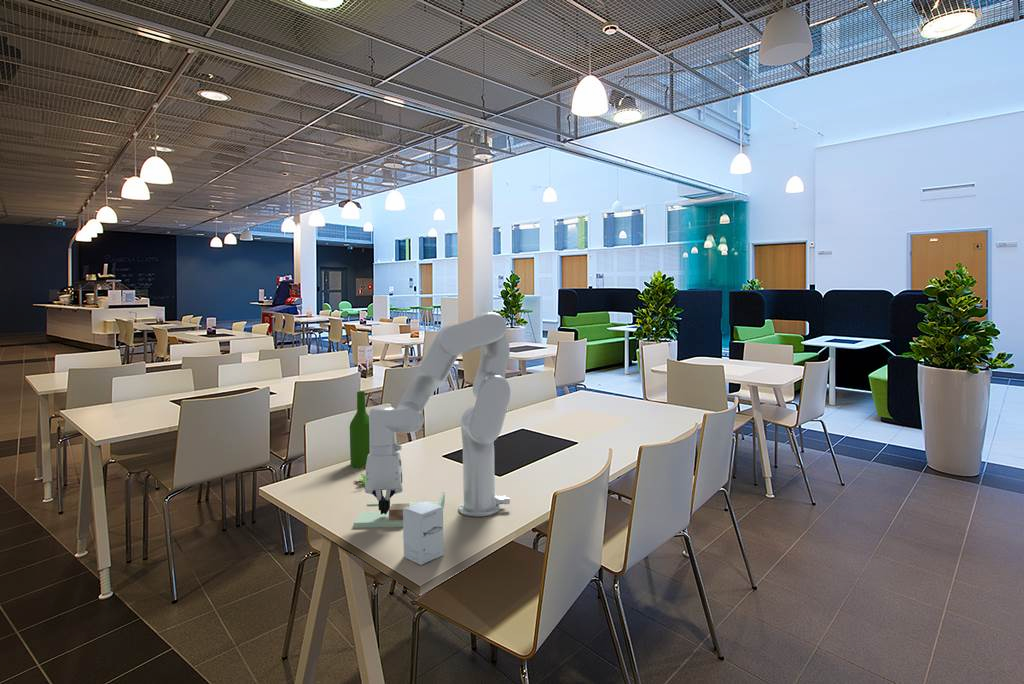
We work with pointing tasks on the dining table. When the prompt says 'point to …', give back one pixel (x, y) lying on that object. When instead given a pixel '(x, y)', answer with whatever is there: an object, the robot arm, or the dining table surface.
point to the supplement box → (423, 532)
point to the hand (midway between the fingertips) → (384, 512)
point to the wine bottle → (359, 434)
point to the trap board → (385, 516)
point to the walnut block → (397, 511)
